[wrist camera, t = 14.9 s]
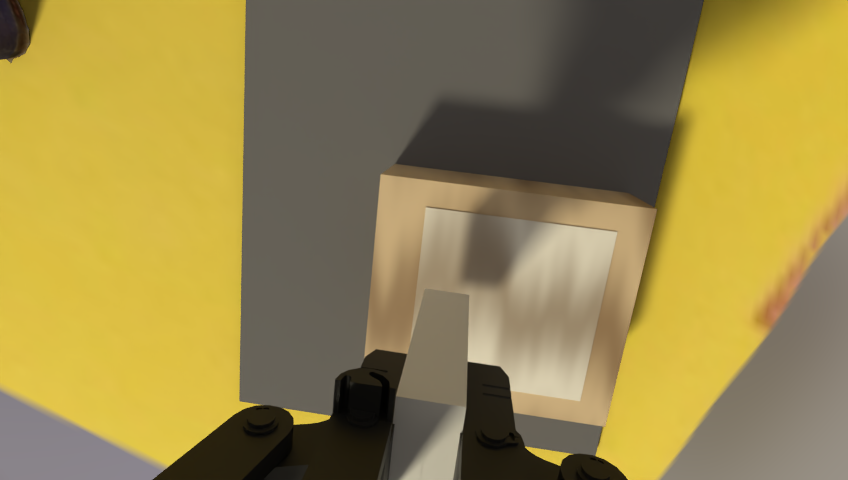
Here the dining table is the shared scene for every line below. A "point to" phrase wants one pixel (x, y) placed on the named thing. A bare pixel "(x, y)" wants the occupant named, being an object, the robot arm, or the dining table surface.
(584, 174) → the mat
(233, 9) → the dining table surface
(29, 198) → the dining table surface
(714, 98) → the dining table surface
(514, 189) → the oak tile
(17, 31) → the flask
